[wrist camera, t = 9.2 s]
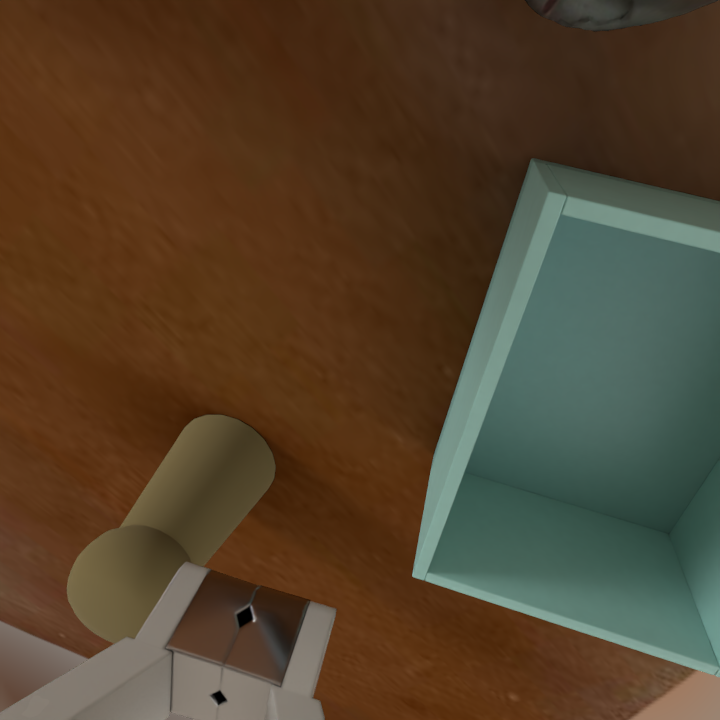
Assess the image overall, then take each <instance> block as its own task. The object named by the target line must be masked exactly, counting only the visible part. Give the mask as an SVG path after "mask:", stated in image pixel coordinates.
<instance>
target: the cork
mask: <svg viewBox="0 0 720 720" xmlns="http://www.w3.org/2000/svg"><path fill="white" fill-rule="evenodd" d="M275 468H276V466H275V462H274V458H273V454H272V452H271V450H270V448H269V447H268V445H267V443H266V442H265V440H264V439H263V438H262V437H261V436H260V435H259V434H258V433H257V432H256V431H255V430H254V429H253V428H252V427H250V426H248V425H246V424H245V423H243V422H241V421H240V420H238V419H235V418H231V417H228V416H224V415H204V416H202V417H199V418H196V419H193V420H192V421H191V422H190V423H189V424H188V425H187V426H186V427H185V428H184V429H183V431H182V432H181V434H180V435H179V437H178V438H177V440H176V442H175V443H174V445H173V446H172V448H171V449H170V451H169V452H168V454H167V455H166V457H165V458H164V460H163V462H162V463H161V465H160V466H159V468H158V469H157V471H156V472H155V474H154V475H153V477H152V479H151V480H150V482H149V483H148V485H147V486H146V488H145V489H144V491H143V492H142V494H141V495H140V497H139V499H138V500H137V502H136V503H135V505H134V506H133V508H132V509H131V511H130V512H129V514H128V516H127V517H126V519H125V520H124V522H123V523H122V525H121V526H120V528H116V529H113V530H109V531H107V532H105V533H104V534H102V535H101V536H99V537H98V538H96V539H95V540H94V541H93V542H92V543H90V544H89V545H88V546H87V547H86V548H85V549H84V550H83V551H82V552H81V554H80V555H79V556H78V558H77V559H76V561H75V563H74V565H73V567H72V569H71V572H70V575H69V578H68V584H67V595H68V601H69V603H70V605H71V607H72V609H73V610H74V612H75V614H76V616H77V617H78V618H79V619H80V621H81V622H82V623H83V624H84V625H85V626H86V627H87V628H89V629H90V630H91V631H92V632H93V633H95V634H96V635H98V636H100V637H102V638H103V639H105V640H107V641H110V642H113V643H117V642H119V641H120V640H122V639H124V638H125V637H130V638H133V639H135V637H136V636H137V634H138V632H139V631H140V629H141V628H142V626H143V624H144V623H145V621H146V620H147V618H148V617H149V615H150V613H151V612H152V610H153V609H154V607H155V606H156V604H157V602H158V601H159V599H160V598H161V596H162V594H163V593H164V591H165V590H166V588H167V587H168V585H169V583H170V582H171V580H172V579H173V577H174V576H175V574H176V572H177V571H178V569H179V568H180V567H181V566H182V565H183V564H184V563H185V562H190V563H193V564H196V565H199V566H202V567H203V566H204V565H205V564H206V563H207V562H208V560H209V559H210V558H211V557H212V556H213V554H214V553H215V552H216V551H217V550H218V548H219V547H220V546H221V545H222V544H223V542H224V541H225V540H226V539H227V538H228V536H229V535H230V534H231V533H232V532H233V530H234V529H235V528H236V527H237V526H238V524H239V523H240V522H241V521H242V520H243V519H244V517H245V516H246V515H247V514H248V513H249V511H250V510H251V509H252V508H253V507H254V505H255V504H256V503H257V502H258V501H259V499H260V498H261V497H262V496H263V495H264V493H265V492H266V491H267V490H268V488H269V487H270V485H271V483H272V482H273V480H274V476H275Z"/></svg>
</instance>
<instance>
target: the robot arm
mask: <svg viewBox="0 0 720 720" xmlns="http://www.w3.org/2000/svg"><path fill="white" fill-rule="evenodd" d="M335 615H336V608H332V607H329V606H325V605H322V604H318V603H315V602H312V601H311V602H310V600H309V599H305V598H302V597H299V596H295V595H292V594H288V593H285V592H282V591H278V590H275V589H272V588H268V587H265V586H259V585H256V584H253V583H250V582H247V581H244V580H241V579H238V578H235V577H232V576H229V575H226V574H223V573H220V572H217V571H214V570H212V569H209V568H205V567H202V566H199V565H196V564H193V563H190V562H185V563H184V564H183V565H182V566H181V567H180V568H179V569H178V571H177V572H176V574H175V576H174V577H173V579H172V580H171V582H170V583H169V585H168V587H167V588H166V590H165V591H164V593H163V594H162V596H161V598H160V599H159V601H158V602H157V604H156V606H155V607H154V609H153V610H152V612H151V613H150V615H149V617H148V618H147V620H146V621H145V623H144V624H143V626H142V628H141V629H140V631H139V632H138V634H137V636H136V637H135V639H133V638H130V637H125V638H124V639H122V640H120V641H119V642H117V643H115V644H114V645H112V646H110V647H109V648H107V649H105V650H104V651H102V652H100V653H99V654H97V655H95V656H94V657H92V658H90V659H88V660H87V661H85V662H83V663H82V664H80V665H79V666H77V667H75V668H73V669H72V670H70V671H69V672H67V673H65V674H63V675H62V676H60V677H58V678H57V679H55V680H53V681H52V682H50V683H48V684H47V685H45V686H43V687H42V688H40V689H38V690H37V691H35V692H33V693H32V694H30V695H28V696H27V697H25V698H24V699H22V700H20V701H18V702H17V703H15V704H14V705H12V706H10V707H8V708H7V709H5V710H3V711H2V712H0V720H165V719H167V718H168V717H169V716H170V712H171V713H174V714H178V715H181V716H184V717H187V718H190V719H194V720H325V718H324V714H323V710H322V706H321V702H320V701H319V700H316V699H314V698H313V696H314V692H315V689H316V685H317V682H318V678H319V674H320V671H321V667H322V663H323V660H324V656H325V652H326V648H327V645H328V641H329V637H330V633H331V630H332V626H333V622H334V619H335Z"/></svg>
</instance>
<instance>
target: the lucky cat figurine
mask: <svg viewBox="0 0 720 720" xmlns="http://www.w3.org/2000/svg"><path fill="white" fill-rule="evenodd" d="M525 1H526V2H527V4H528V5H529V6H530V7H531V8H532V9H533V10H534V11H535V12H536V13H538V14H539V15H540V16H542V17H545V18H547V19H550V20H552V21H555V22H557V23H558V24H560V25H563V26H565V27H573V28H581V29H584V30H592V31H609V30H614V29H622V28H626V27H631V26H637V25H639V26H641V25H644V24H649V23H654V22H658V21H662V20H666V19H669V18H672V17H675V16H680V15H683V14H686V13H688V12H691V11H693V10H696V9H698V8H700V7H703V6H705V5H708V4H711V3H713V2H716V1H718V0H525Z"/></svg>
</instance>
